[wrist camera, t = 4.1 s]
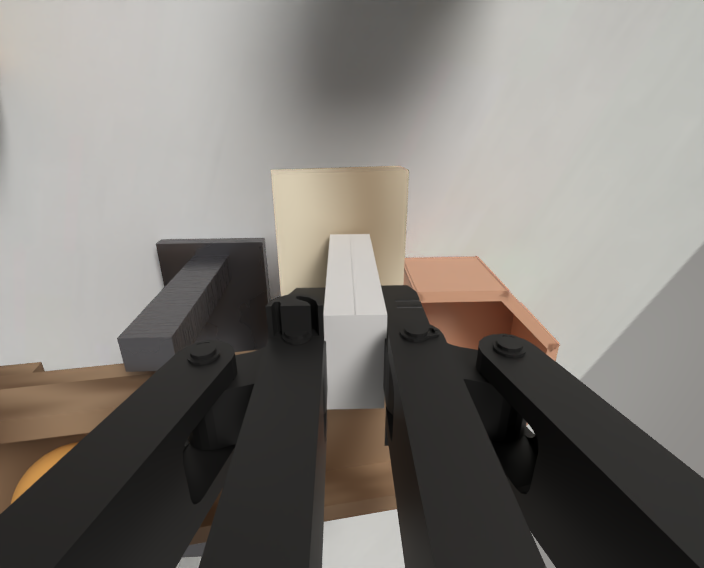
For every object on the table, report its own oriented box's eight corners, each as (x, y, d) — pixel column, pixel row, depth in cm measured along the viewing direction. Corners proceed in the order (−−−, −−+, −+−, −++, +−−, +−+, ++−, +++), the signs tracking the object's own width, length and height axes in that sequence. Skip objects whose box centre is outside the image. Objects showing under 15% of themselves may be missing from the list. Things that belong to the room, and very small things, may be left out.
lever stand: (197, 426, 30) (137, 568, 21) (161, 239, 24) (56, 321, 15) (281, 423, 30) (258, 563, 21) (264, 237, 25) (222, 318, 15)
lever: (11, 487, 22) (-81, 624, 16) (-134, 171, 16) (-373, 211, 10) (375, 435, 26) (406, 533, 20) (381, 157, 19) (432, 181, 13)
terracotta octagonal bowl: (312, 339, 27) (307, 386, 23) (442, 218, 24) (467, 245, 20) (424, 430, 31) (440, 486, 26) (550, 333, 28) (593, 379, 23)
